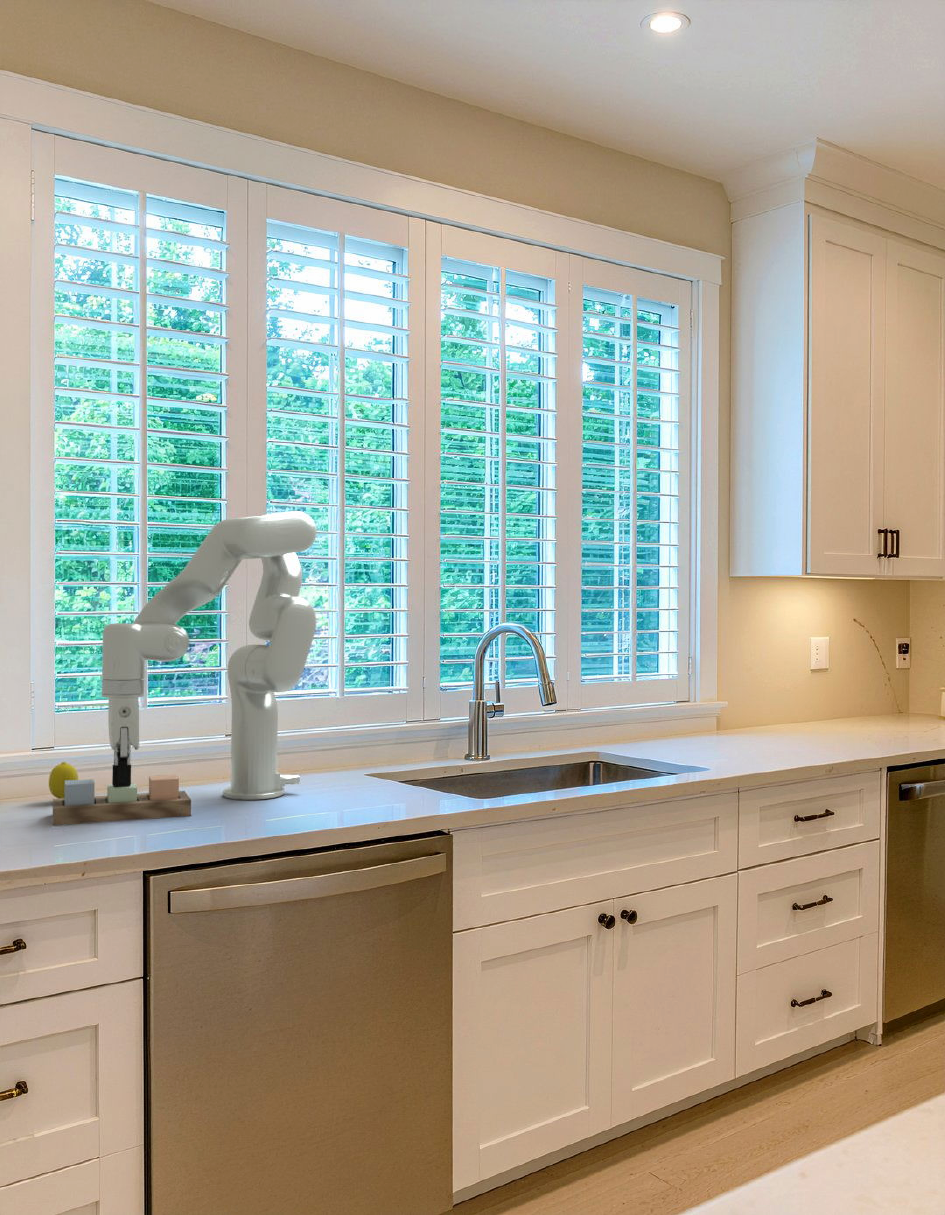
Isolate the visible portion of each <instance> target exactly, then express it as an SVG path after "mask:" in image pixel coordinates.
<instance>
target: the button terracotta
mask: <svg viewBox="0 0 945 1215" xmlns="http://www.w3.org/2000/svg"><path fill="white" fill-rule="evenodd" d="M179 787H180V779H179V777H178V775H177V774H165V775H149V776H148V793H149V800H164V799H179V791H180V790H179V789H180V788H179Z"/></svg>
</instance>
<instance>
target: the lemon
mask: <svg viewBox="0 0 945 1215" xmlns="http://www.w3.org/2000/svg"><path fill="white" fill-rule="evenodd" d="M67 780H79V774H78V771H77V770H76V768H75V767H74V766H73V765H72V764H69V763H68V762H66V761H62V762H61V763H60V764H58V765H56V766H55V767H54V768H53V769H52V770H51V771H50V774H49V777H48V789H49V791H50V794H51V795H53V797H54V798H55V799H57V798H65V781H67Z"/></svg>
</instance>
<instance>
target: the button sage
mask: <svg viewBox="0 0 945 1215" xmlns="http://www.w3.org/2000/svg"><path fill="white" fill-rule="evenodd" d="M106 790H107V793H106V794H107V795H106V796H107V803H116V802H132V801H137V794H138V785H137V784H136V783H135V782H134V783H132V782H131V785H130V786H129V787H113V785H112V784H107V789H106Z"/></svg>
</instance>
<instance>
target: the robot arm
mask: <svg viewBox="0 0 945 1215" xmlns="http://www.w3.org/2000/svg"><path fill="white" fill-rule="evenodd" d="M316 527H317V526H316V524H315V522H314V520H313V519H312V517H310V515H308V514H306V513H305V512H302V511H297V510H295V511H285V512H275V513H267V514H263V515H261V516H257V515H256V516H245V517H237V518H236V517H235V518H227V519H223V520H220V521H219V522H217V523H216V524H215V525H214V526H213V527H212V528H211V529H210V531H209V532H208V534H207V535H206V536H205V538H204V539H203V541H202V543H201V544H200V546H198V548H197V549H196V551H195V552H194V554H193V556H192V557H191V558H190V560H188V563H187V564H186V565H185V567H184V568H183V570H182V571H181V572H180V573H179V574H178V575H176V577H174V578H173V579H172V580H170V581H169V582H168V583H167V584H166V585H165V586H164V587H163V588H161V589H160V590H159V591H158V592H157V593H156V594H155V595H153V597H152V598H150V599H149V601H147V603H146V604H145V605H144V607H143V608H142V609H141V611H140V612H139V614H138V615H137V616H136V618H135V619H134V621H133V622H132V623H127V622H126V623H125V622H122V623H116V622H115V623H108V624H106V625H105V626H104V627H103V630H102V656H101V657H102V660H101V661H102V662H101V664H102V666H101V669H102V670H101V671H102V673H101V675H102V676H101V677H102V678H101V697H102V698H108V708H107V709H108V718H107V719H108V738H109V746H110V748H111V750H113V764H112V775H111V776H112V779H111V781H112V782H111V785H113V787H129V786H130V785H131V783H132V764H131V751H132V750H131V749H132V748H134V750H135V751H138V750H139V749H140V705H139V698H141V697H142V698H143V697H145V661H156V662H167V663H168V662H173V661H176V660H179V659H180V658H182V657H183V656H184V655H186V653H187V652H188V650H189V647H190V637H189V635H188V633H187V631H186V630H185V629H184V628H183V627H182V626H180V625H178V624H177V623H178V622H179V621H180V620H181V619H183V617H184V616H186V615H187V614H189V613H190V612H192V611H194V610H195V609H197V608H200V607H202V606H204V605H205V604H208V603H209V602H211V601H213V600H215V599H216V598H217V597H218V596H219V595H220V594H221V592H222V591H223V589H224V587H225V586H226V584H227V583H228V581H229V580H230V578H231V577H232V576H233V574H234V573H235V571H236V570H237V568H238V567H239V565H240V563H241V562H242V561H243V560H250V559H251V560H253V559H261V563H262V574H261V575H262V576H261V580H260V584H259V586H258V590H257V593H256V595H255V599H254V603H253V604H252V608H251V611H250V614H249V620H248V627H249V630H250V633H251V634H252V635H253V636H254V637H255V638H258V639H259V640H262V641H268V642H269V644H247V645H243V646H240V647H238V648H237V649H236V650H235V651H234V652H233V653H231V654H232V655H230V657H229V660H228V664H227V679H228V684H229V689H230V701H231V702H230V703H231V725H230V726H231V729H230V730H231V732H230V734H231V736H230V737H231V739H230V740H231V743H230V750H231V751H230V786H229V787H226V788H223V790H222V795H223V797H225V798H228V799H232V800H246V801H247V800H248V801H249V800H250V801H251V800H252V801H253V800H265V799H267V800H268V799H274V798H278V797H281V796H283V795H285V788H284V787H285V785H300V783H301V782H300V781H301V780H300V778H301V777H300V775H299V774H293V775H292V774H281V773H280V772H279V771H278V727H279V726H278V722H279V717H278V716H279V712H278V711H279V709H278V702H277V699H276V695H275V693H285V692H287V691H290V690H292V689H294V687H295V686H296V685H297V684H298V682H299V681H300V679H301V677H302V675H303V673H304V670H305V666H306V663H307V660H308V656H309V654H310V650H311V646H312V643H313V640H314V636H315V632H316V627H317V616H316V612H315V609H314V607H313V606H312V604H311V603H310V602H309V601H308V600H306V599H305V598H302V597H299V595H300V591H301V588H302V583H303V570H302V565H301V563H300V560H299V557H298V555H297V553H301V552H304V551H306V550H308V549H309V548H311V546H312V545H313V544H314V542H315V541H316V537H317V528H316Z"/></svg>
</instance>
